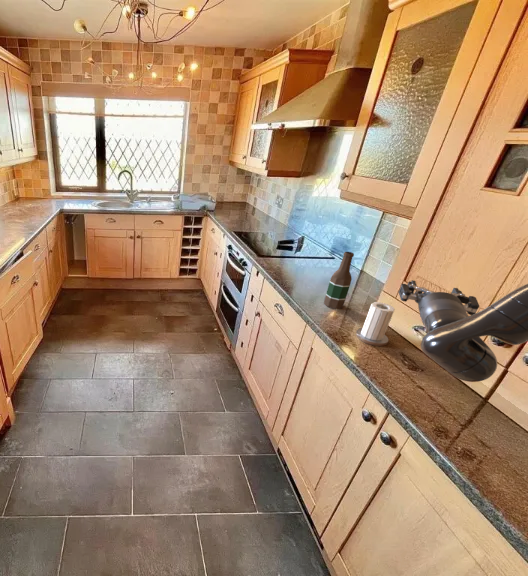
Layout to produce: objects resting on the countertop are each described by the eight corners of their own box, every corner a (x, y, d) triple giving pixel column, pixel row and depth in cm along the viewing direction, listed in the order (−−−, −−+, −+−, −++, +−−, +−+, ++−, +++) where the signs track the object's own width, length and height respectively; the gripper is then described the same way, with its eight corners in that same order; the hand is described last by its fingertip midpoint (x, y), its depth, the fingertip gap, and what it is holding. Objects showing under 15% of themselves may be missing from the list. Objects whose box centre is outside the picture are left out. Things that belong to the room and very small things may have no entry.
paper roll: (380, 332, 112) (391, 304, 107) (384, 342, 107) (396, 312, 102) (359, 328, 115) (370, 300, 109) (362, 338, 109) (373, 309, 104)
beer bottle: (336, 311, 128) (353, 257, 117) (319, 303, 134) (333, 251, 123) (347, 306, 131) (364, 253, 121) (330, 298, 138) (345, 248, 127)
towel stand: (383, 333, 113) (395, 305, 108) (390, 348, 106) (403, 318, 100) (353, 328, 117) (363, 300, 111) (357, 342, 109) (368, 313, 104)
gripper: (495, 308, 64) (475, 280, 76) (408, 292, 71) (403, 268, 83) (478, 337, 68) (462, 306, 80) (397, 319, 75) (394, 293, 87)
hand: (432, 287), depth 81 cm, fingers open, 8 cm apart
